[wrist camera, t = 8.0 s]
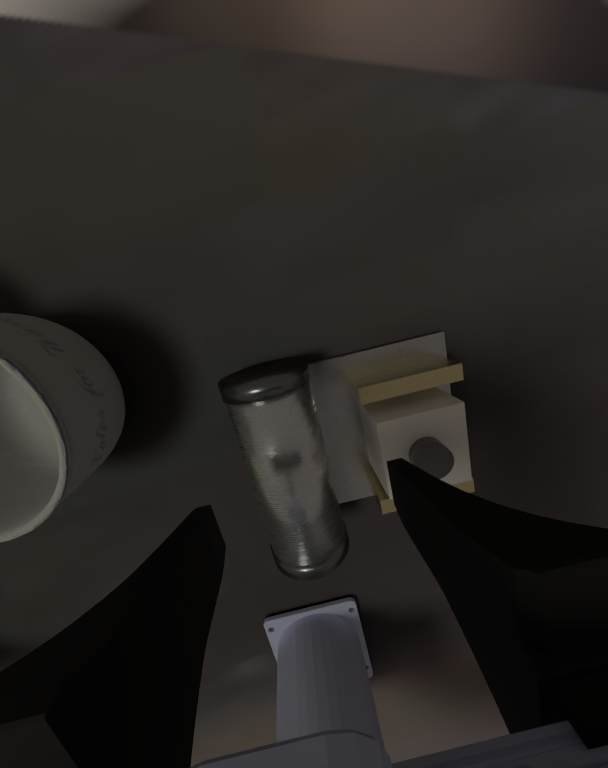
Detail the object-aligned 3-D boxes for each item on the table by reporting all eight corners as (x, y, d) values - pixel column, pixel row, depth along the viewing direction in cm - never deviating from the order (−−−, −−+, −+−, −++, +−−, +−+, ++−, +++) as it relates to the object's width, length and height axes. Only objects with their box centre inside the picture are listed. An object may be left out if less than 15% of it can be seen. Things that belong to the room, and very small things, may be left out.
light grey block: (436, 446, 22) (484, 491, 17) (369, 462, 22) (397, 513, 17) (427, 382, 21) (477, 409, 16) (357, 399, 21) (383, 432, 15)
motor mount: (456, 478, 24) (508, 531, 18) (270, 524, 24) (266, 591, 18) (438, 319, 20) (495, 324, 15) (222, 371, 20) (199, 396, 15)
